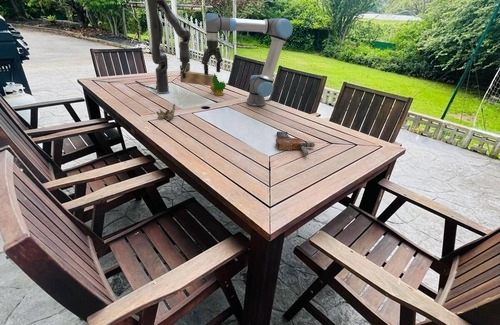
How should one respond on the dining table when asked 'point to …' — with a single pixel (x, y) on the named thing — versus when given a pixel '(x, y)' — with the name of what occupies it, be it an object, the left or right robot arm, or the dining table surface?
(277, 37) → the right robot arm
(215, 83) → the ornament
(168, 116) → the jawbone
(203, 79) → the bar
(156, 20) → the left robot arm
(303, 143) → the tool
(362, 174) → the dining table surface
